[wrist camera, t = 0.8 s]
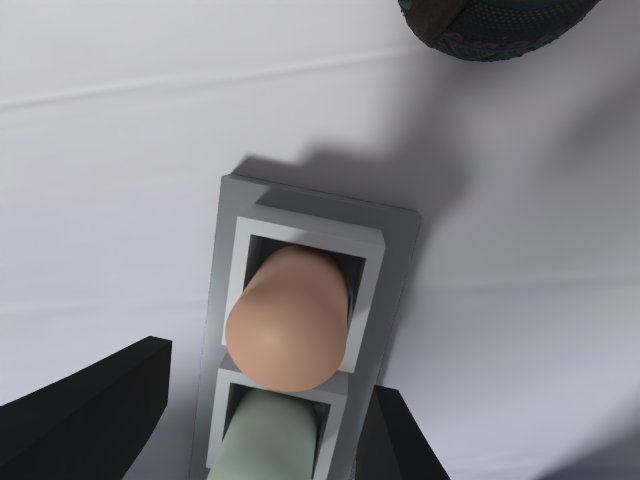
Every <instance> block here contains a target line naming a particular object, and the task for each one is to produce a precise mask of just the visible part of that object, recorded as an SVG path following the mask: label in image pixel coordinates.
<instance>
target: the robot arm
mask: <svg viewBox="0 0 640 480" xmlns="http://www.w3.org/2000/svg"><path fill="white" fill-rule="evenodd" d="M171 352H172V341H171V340H167V339H162V338H158V337H153V336H148V337H146V338H144V339H142V340H140V341H138V342H136V343H134V344H132V345H130V346H128V347H126V348H124V349H122V350H120V351H118V352H116V353H114V354H112V355H110V356H108V357H106V358H104V359H102V360H100V361H98V362H96V363H94V364H92V365H90V366H88V367H86V368H84V369H82V370H80V371H78V372H76V373H74V374H72V375H70V376H68V377H66V378H63V379H61V380H59V381H57V382H55V383H52V384H50V385H48V386H46V387H44V388H41V389H39V390H37V391H35V392H33V393H30V394H28V395H26V396H24V397H21V398H19V399H17V400H15V401H12V402H10V403H7V404H5V405H3V406H0V480H121V479H122V478H123V477H124V475H125V474H126V472H127V471H128V469H129V468H130V466H131V465H132V463H133V462H134V461H135V459H136V458H137V456H138V455H139V453H140V452H141V450H142V449H143V447H144V446H145V444H146V443H147V441H148V439H149V438H150V436H151V434H152V432H153V430H154V429H155V427H156V425H157V423H158V421H159V419H160V417H161V415H162V413H163V412H164V410H165V408H166V406H167V402H168V390H169V377H170V364H171ZM355 480H451V479H450V477H449V476H448V474H447V473H446V471H445V470H444V468H443V467H442V465H441V463H440V462H439V460H438V458H437V457H436V455H435V454H434V452H433V450H432V449H431V447H430V446H429V444H428V442H427V440H426V439H425V437H424V435H423V434H422V432H421V430H420V428H419V427H418V425H417V423H416V421H415V420H414V418H413V416H412V414H411V412H410V411H409V409H408V407H407V405H406V403H405V402H404V400H403V398H402V396H401V394H400V393H399V391H398V390H396V389H391V388H387V387H382V386H378V385H374V387H373V391H372V395H371V398H370V402H369V405H368V409H367V413H366V416H365V420H364V423H363V427H362V430H361V434H360V438H359V441H358V445H357V456H356V475H355Z"/></svg>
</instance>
